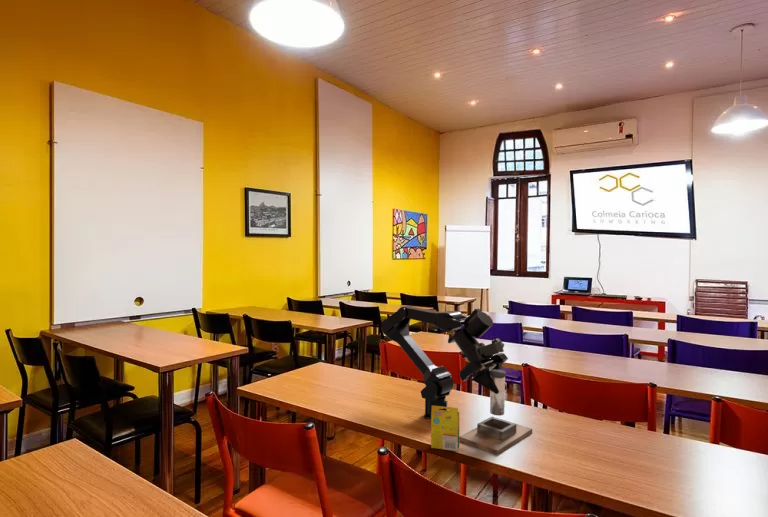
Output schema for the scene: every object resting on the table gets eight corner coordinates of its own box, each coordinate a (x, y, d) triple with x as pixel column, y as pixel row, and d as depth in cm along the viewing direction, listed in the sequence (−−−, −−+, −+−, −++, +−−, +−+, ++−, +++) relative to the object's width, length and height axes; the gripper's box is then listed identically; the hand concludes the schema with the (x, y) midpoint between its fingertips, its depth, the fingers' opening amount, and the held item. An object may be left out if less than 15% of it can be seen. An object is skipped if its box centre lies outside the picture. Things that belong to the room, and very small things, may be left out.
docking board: (459, 440, 125) (459, 427, 124) (495, 421, 139) (496, 409, 139) (497, 454, 116) (497, 441, 116) (532, 432, 130) (532, 420, 130)
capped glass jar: (489, 414, 126) (489, 372, 125) (489, 409, 130) (490, 368, 130) (505, 416, 125) (506, 374, 124) (505, 411, 129) (505, 370, 129)
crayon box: (459, 447, 120) (460, 404, 120) (457, 452, 118) (458, 408, 117) (432, 443, 123) (433, 401, 122) (430, 448, 120) (431, 405, 120)
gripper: (468, 334, 123) (504, 383, 115) (502, 326, 136) (536, 369, 129) (445, 357, 128) (477, 405, 121) (480, 347, 142) (510, 390, 134)
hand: (501, 391), depth 126 cm, fingers closed on capped glass jar, 4 cm apart
